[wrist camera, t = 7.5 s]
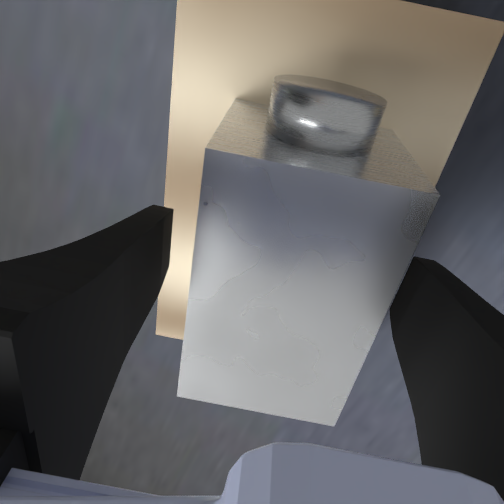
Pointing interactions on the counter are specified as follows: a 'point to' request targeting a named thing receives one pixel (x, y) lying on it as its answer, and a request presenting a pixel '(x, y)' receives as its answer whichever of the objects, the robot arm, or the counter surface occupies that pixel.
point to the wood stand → (320, 66)
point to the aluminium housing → (298, 248)
